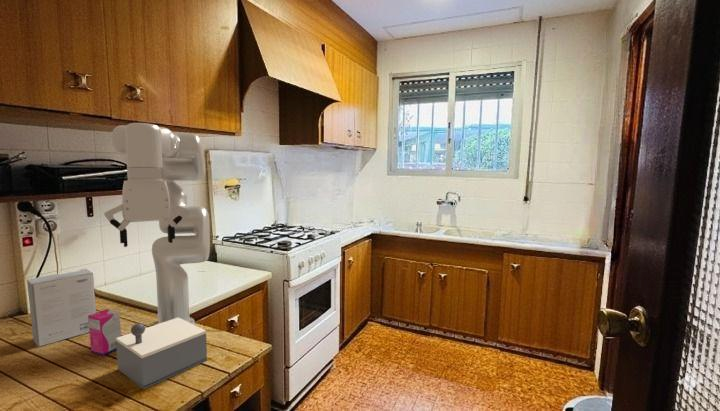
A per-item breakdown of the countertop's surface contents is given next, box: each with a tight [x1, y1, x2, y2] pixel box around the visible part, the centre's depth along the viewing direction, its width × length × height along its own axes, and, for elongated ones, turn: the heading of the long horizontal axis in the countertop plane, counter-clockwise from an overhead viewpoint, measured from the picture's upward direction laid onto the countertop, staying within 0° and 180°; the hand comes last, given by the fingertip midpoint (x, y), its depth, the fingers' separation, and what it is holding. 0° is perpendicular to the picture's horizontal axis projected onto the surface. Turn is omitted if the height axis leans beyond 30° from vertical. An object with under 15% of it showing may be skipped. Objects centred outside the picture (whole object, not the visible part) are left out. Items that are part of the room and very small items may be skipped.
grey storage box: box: [116, 333, 208, 390], centre depth 100 cm, size 15×17×8 cm
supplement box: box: [88, 308, 122, 357], centre depth 108 cm, size 6×6×12 cm
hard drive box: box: [26, 268, 97, 348], centre depth 117 cm, size 16×8×20 cm, turn 141°
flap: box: [116, 317, 207, 358], centre depth 100 cm, size 15×17×6 cm
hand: (148, 243), depth 90 cm, fingers open, 9 cm apart
